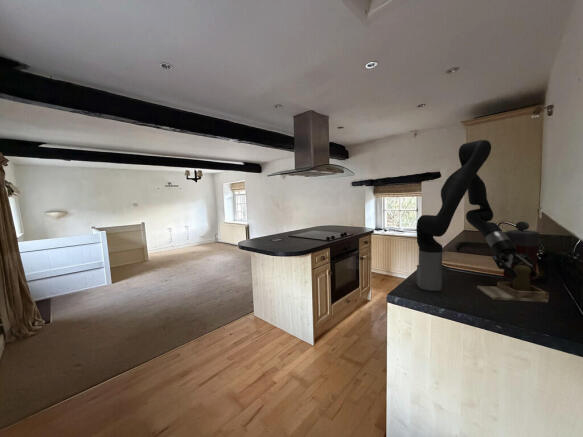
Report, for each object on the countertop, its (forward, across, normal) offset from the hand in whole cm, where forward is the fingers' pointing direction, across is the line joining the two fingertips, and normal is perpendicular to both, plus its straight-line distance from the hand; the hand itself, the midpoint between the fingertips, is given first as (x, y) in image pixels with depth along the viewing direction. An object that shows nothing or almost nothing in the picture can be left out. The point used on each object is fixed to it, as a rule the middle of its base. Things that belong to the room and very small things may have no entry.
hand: (525, 277), depth 95 cm
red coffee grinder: (-9, +21, +20) cm, 30 cm away
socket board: (+4, -4, +8) cm, 9 cm away
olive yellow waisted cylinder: (+3, +1, +7) cm, 8 cm away
